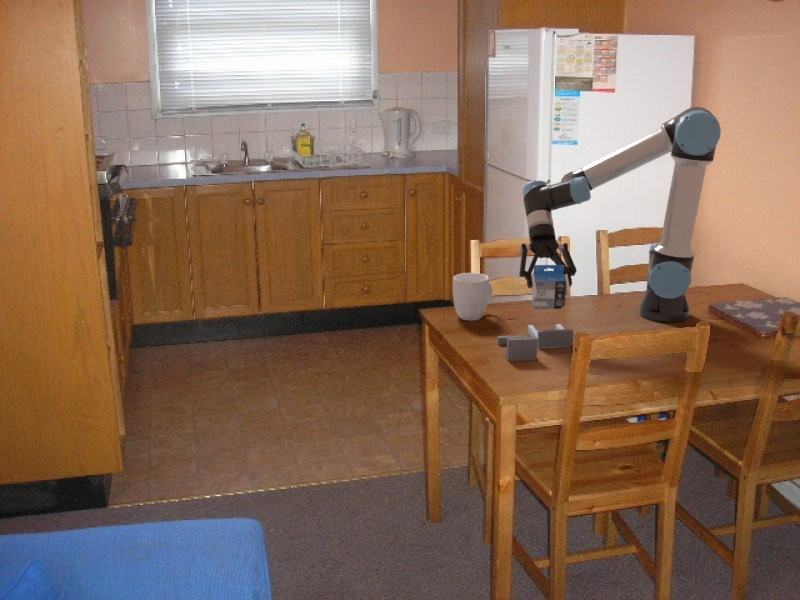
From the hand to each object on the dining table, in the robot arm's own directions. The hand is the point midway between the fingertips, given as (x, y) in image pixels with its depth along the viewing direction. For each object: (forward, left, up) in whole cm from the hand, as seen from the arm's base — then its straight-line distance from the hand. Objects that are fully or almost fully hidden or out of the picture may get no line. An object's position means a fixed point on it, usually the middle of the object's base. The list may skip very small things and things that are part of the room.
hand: (551, 296), depth 256 cm
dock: (-1, -3, -14) cm, 14 cm away
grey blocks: (+11, +6, -14) cm, 19 cm away
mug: (+18, -26, -14) cm, 35 cm away
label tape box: (0, -3, -4) cm, 6 cm away
